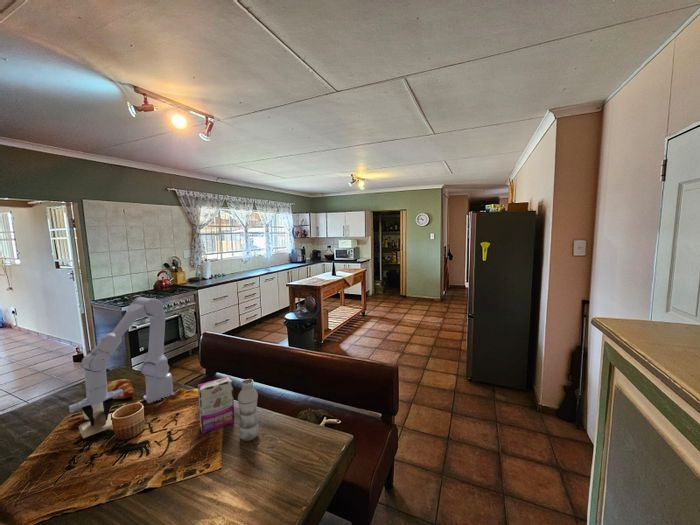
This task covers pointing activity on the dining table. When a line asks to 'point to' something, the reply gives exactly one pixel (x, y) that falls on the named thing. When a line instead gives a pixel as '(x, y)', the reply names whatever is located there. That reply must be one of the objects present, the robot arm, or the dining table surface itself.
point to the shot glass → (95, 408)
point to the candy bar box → (216, 404)
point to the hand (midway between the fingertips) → (99, 421)
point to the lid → (96, 423)
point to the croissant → (123, 385)
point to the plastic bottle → (248, 411)
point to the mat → (91, 434)
